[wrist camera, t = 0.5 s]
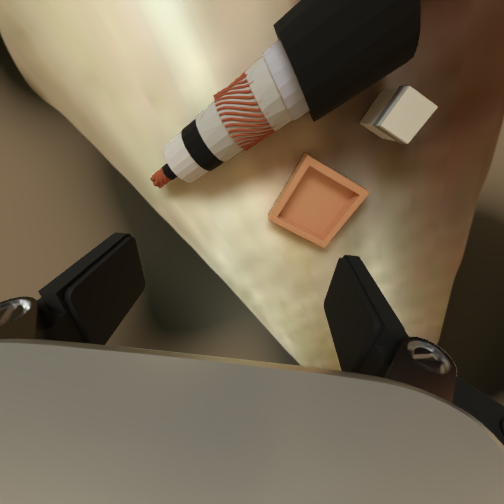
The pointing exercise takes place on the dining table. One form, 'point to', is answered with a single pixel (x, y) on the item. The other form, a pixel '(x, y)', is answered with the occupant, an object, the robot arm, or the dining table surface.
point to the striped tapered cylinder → (297, 78)
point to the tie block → (398, 114)
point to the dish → (316, 201)
